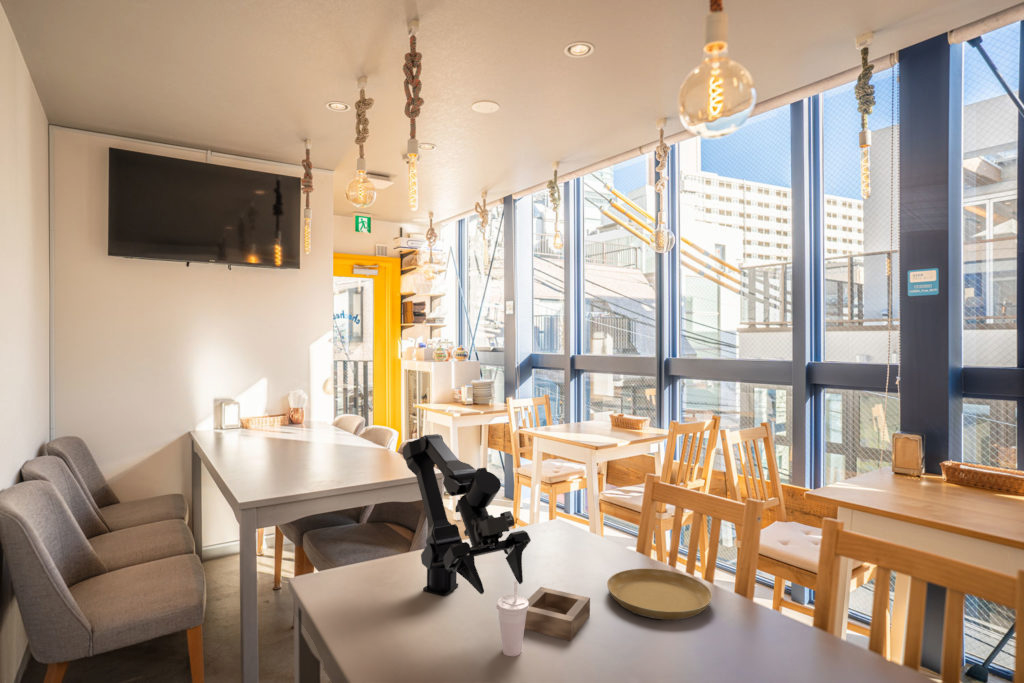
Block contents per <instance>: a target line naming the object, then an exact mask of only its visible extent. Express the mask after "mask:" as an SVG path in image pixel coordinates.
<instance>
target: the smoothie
mask: <svg viewBox="0 0 1024 683" xmlns="http://www.w3.org/2000/svg"><path fill="white" fill-rule="evenodd" d="M513 582H514V583H513V585H514V586H513V587H514V588H513V594H512V595H511V594H509V595H504V596H501V597H500V598H498V600H496V609H497V611H498V619H499V629H500V638H501V646H502V653H503V654H504V655H506V656H509V657H517V656H519V655H521V654H522V650H523V643H524V635H525V630H526V629H525V621H526V614H527V610H528V609H529V602H528V598H526V597H524V596H520V595H518V581H517V580H516V579H514V580H513Z"/></svg>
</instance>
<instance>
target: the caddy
mask: <svg viewBox="0 0 1024 683" xmlns="http://www.w3.org/2000/svg"><path fill="white" fill-rule="evenodd" d="M527 600H528V602H529V609H528V610H527V614H526V621H525V629H524V630H527V631H532V632H536V633H540V634H544V635H548V636H551V637H555V638H559V639H563V640H566V641H570V642H571V641H572V640H574V637H575V636H576V635H577V634H578V632H579V631H580V630H581V628H582V627H583V626H584V624H585V623H586V622H587V620H588V619H589V618H590V616H591V597H588V596H584V595H581V594H580V595H579V594H575V593H571V592H570V593H569V592H566V591H561V590H556V589H554V588H553V589H552V588H547V587H543V586H540V587H539V588H538V589H537V590H536V591H535V592H533V594H531V596H530V597H529V598H527Z"/></svg>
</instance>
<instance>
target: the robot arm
mask: <svg viewBox="0 0 1024 683" xmlns="http://www.w3.org/2000/svg"><path fill="white" fill-rule="evenodd" d="M402 457H403V459H404V460H405V462H406V463H405V464H406V465H407V466H406V467H407V468H408V469H409V471H411V472H412V473H413V474H414V475H415V476H416V480H417V483H418V484H417V485H418V488H419V491H420V496H421V500H422V504H423V507H424V512H425V515H426V519H427V523H428V524H427V525H428V531H427V532H428V533H427V536H426V539H425V543H426V544H425V545H426V546H425V547H424V549H423V551H422V552H421V554H420V559H421V560H420V561H421V564H422V565H423V566H424V567H425V568H426V585H425V586H424V587H423V588H422V591H424V592H428V593H430V594H431V593H432V594H436V595H440V596H446V595H448V594H450V593H451V592H452V591H454V590H456V589H457V588H458V587H459V583H458V582H457V576H458V575H457V574H459V576H461V577H462V578H463V579H464V580H466V581H467V582H468V583H469V584H470V585H471V586H472V587H473V588H474V589H475V590H476V591H477V592H478V593H479V594H480V595H483V594H484V593H485V589H484V586H483V582H482V580H481V577H480V575H479V573H478V568H477V567H476V564H475V557H479V556H483V555H487V554H488V555H489V554H491V553H496V552H500V551H503V552H504V554H506V555H507V556H506V557H505V559H506V560H505V561H506V562H507V563H508V566H509V568H510V569H511V573H512V574H513V576H514V578H515V580H517V584H519V585H521V584H523V583H524V578H523V576H524V575H523V551H524V550H525V549H526V548H527V547H528V545H529V544H530V542H531V541H532V540H531V537H530V535H529V533H528V532H527V531H525V530H518V531H513V532H510V528H511V527H514V526H515V524H516V523H515V518H514V516H513V514H512V512H511V510H508V511H503V512H501V513H500V514H499V515H500V516H497V517H494V515H493V514H490V513H489V512H488V510H487V507H489V506H490V505H491V503H492V502H493V500H494V499H495V497H496V496H497V494H498V493H499V492H500V489H501V486H502V485H501V481H500V478H498V476H496V474H494V473H492V472H491V471H488V470H487V467H478V468H477V469H476V468H474V467H473V466H472V465H471V464H469V463H467V462H463V461H460V460H459V458H458V457H457V456H456V455H455V454H454V452H453V451H452V449H451V448H450V447H448V445H447V444H446V443H445V441H444V438H443V436H442V435H441V434H438V433H436V434H424V435H423V436H420V437H419V438H417V439H415V440H411V441H407V442H406V444H405V445H404V446H403V448H402ZM435 466H436V467H437V469H438V470H439V471H440V472H441V474H442V475H443V482H442V484H443V486H444V489H445V491H446V492H447V493H448V494H449V496H450V497H455V496H461V495H462V496H461V497H460V498H459V499H457V503H456V505H455V509H454V510H455V513H460V517H461V519H462V522H463V525H464V528H465V530H464V532H463V533H464V536H465V537H468V538H469V542H470V543H469V542H467V541H464V542H463V540H462V537H461V535H460V531H459V527H458V525H457V524H456V523H454V524H452V523H451V522H450V521H449V520H448V516H447V512H446V509H445V505H444V501H443V498H442V494H441V491H440V487H439V486H440V485H439V482H438V479H437V475H436V472H435ZM489 514H490V515H489ZM505 532H507V533H508V532H510V533H509V534H508V536H507V537H506V538H505V539H504V540H499V539H502V537H503V536H504V534H503V533H505ZM470 544H471V545H470Z"/></svg>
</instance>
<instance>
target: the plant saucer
mask: <svg viewBox="0 0 1024 683" xmlns="http://www.w3.org/2000/svg"><path fill="white" fill-rule="evenodd" d="M606 584H607V590H608V592H609V593H610V595H611V597H612V598H613V600H615V601H616V602H617V603H618V604H619V605H620V606H622V607H623V608H624V609H626V610H628V611H630V612H631V613H633V612H634V614H636V615H638V614H639V616H642V617H645V618H649V619H655V620H663V621H665V620H666V621H676V620H677V621H678V619H679V620H685V619H688V618H691V617H695V616H697V615H699V614H701V613H702V612H703V611H704V610H705V609H707V608H708V606H709V605H710V604H711V602H712V599H713V593H712V590H710V588H709V587H708V586H707V585H705V584H704V583H703V582H701V581H700V580H698V579H696V578H694V577H692V576H690V575H686V574H683V573H680V572H677V571H670V570H667V569H661V568H660V569H659V568H633V569H632V568H630V569H626V570H622V571H619V572H617V573H614V574H612V575H611V576H610V577H609V578H608V579H607V582H606Z"/></svg>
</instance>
